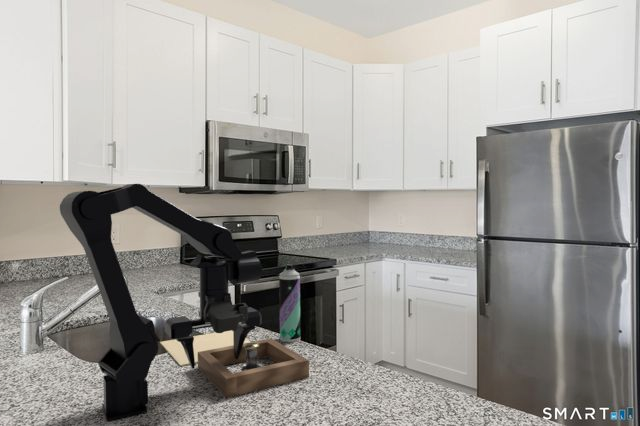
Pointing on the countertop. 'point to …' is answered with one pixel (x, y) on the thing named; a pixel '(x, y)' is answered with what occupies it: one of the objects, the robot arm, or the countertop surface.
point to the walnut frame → (253, 379)
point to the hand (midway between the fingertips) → (215, 363)
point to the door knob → (251, 356)
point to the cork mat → (199, 345)
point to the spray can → (289, 304)
